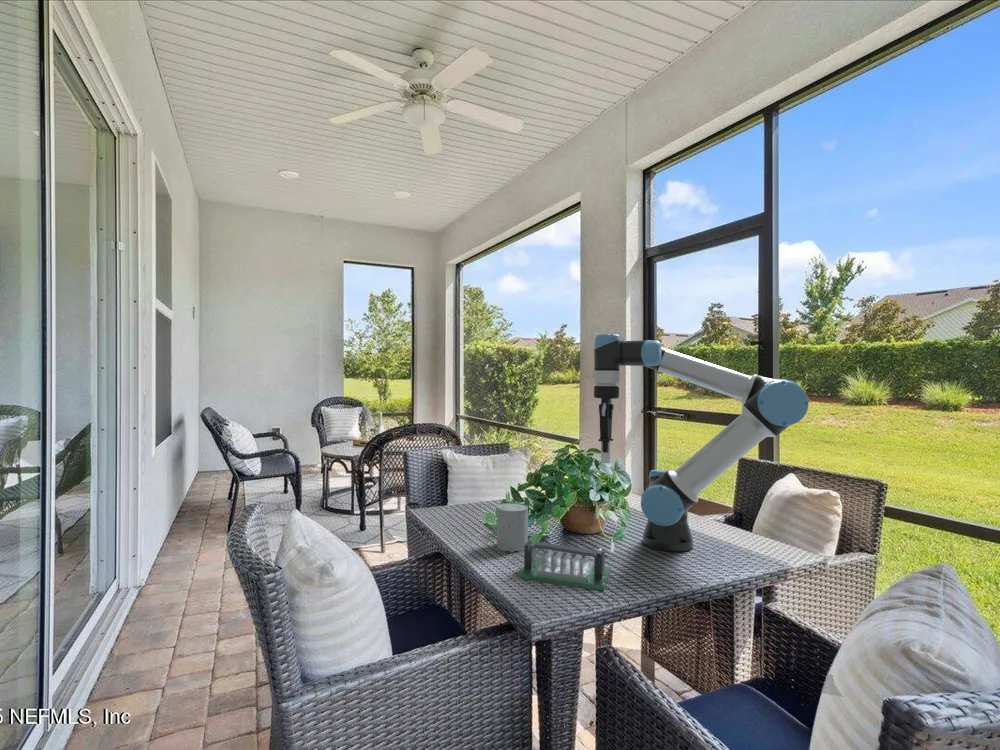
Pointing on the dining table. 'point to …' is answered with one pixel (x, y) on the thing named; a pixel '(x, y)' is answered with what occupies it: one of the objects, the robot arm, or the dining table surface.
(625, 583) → the dining table surface
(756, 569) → the dining table surface
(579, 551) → the grey hinged clamp bar
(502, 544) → the grey cylinder
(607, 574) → the heatsink board
